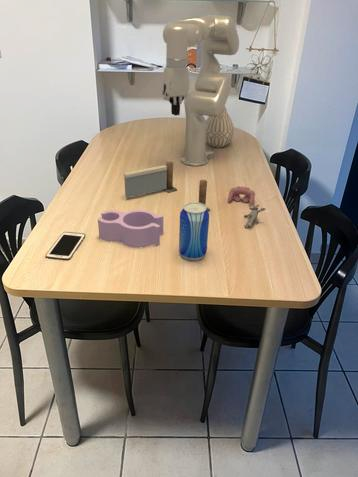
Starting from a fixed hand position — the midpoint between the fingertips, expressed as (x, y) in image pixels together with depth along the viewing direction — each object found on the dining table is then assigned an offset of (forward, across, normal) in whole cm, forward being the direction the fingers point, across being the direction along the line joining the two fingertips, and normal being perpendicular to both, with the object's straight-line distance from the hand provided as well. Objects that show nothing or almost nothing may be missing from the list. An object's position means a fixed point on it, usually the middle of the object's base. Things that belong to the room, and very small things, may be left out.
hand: (175, 114), depth 154 cm
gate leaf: (+26, +18, +7) cm, 33 cm away
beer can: (+27, +28, +50) cm, 63 cm away
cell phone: (+28, +58, +25) cm, 69 cm away
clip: (+28, +38, +31) cm, 57 cm away
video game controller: (+27, -9, +32) cm, 43 cm away
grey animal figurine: (+27, -1, +46) cm, 54 cm away
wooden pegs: (+27, +8, +18) cm, 34 cm away
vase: (+27, -45, -25) cm, 58 cm away
